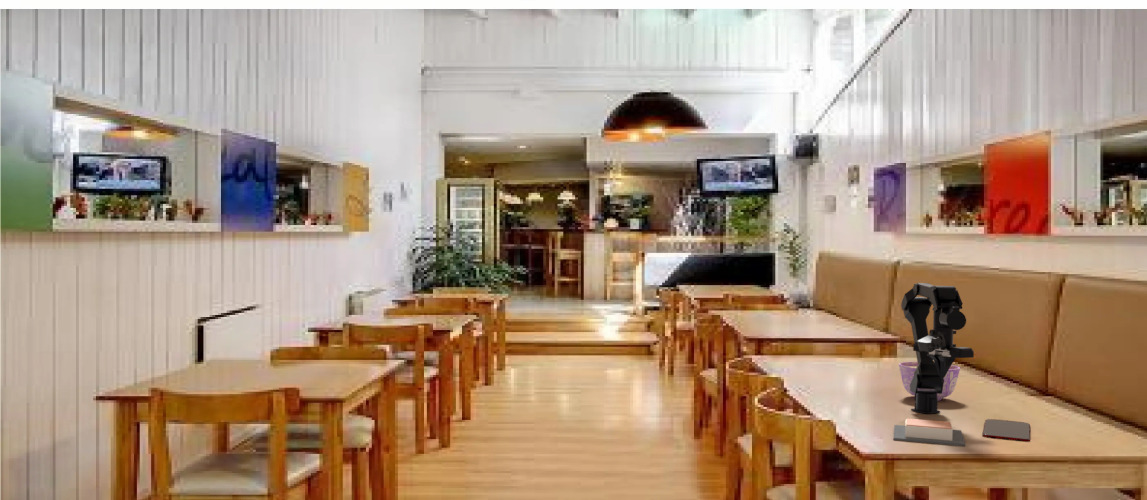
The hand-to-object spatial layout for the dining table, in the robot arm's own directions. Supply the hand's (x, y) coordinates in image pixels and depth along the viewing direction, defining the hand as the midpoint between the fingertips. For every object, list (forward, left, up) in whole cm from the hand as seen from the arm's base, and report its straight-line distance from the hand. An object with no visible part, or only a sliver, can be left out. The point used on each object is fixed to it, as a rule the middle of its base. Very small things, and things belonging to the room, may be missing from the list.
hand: (942, 377), depth 276 cm
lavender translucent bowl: (-30, +26, -13) cm, 42 cm away
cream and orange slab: (+13, -19, -11) cm, 26 cm away
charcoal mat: (+16, -22, -13) cm, 30 cm away
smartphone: (+19, +6, -14) cm, 24 cm away
